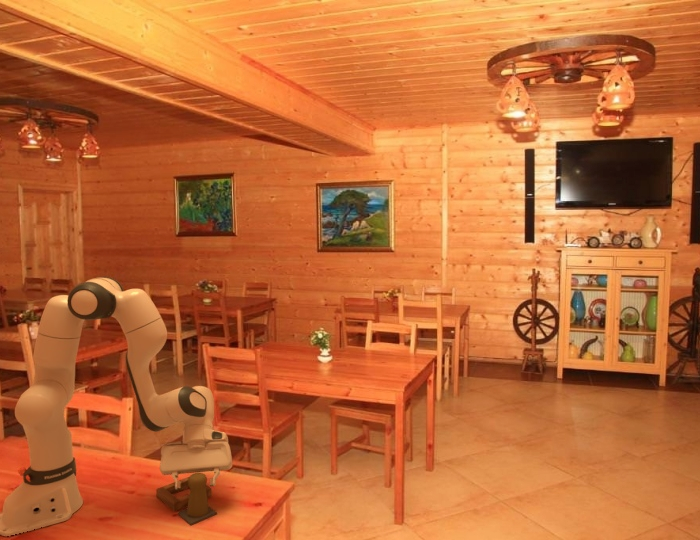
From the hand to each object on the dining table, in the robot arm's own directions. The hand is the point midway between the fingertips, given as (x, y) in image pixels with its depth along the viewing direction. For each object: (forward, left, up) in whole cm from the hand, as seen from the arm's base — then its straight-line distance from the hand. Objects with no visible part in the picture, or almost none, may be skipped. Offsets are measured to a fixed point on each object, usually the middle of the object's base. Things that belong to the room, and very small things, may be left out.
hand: (195, 487), depth 156 cm
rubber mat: (0, +1, -8) cm, 8 cm away
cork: (+1, +1, -8) cm, 8 cm away
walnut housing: (+2, +13, -8) cm, 15 cm away
